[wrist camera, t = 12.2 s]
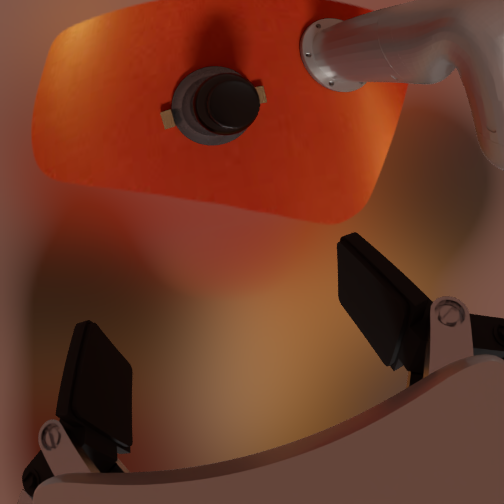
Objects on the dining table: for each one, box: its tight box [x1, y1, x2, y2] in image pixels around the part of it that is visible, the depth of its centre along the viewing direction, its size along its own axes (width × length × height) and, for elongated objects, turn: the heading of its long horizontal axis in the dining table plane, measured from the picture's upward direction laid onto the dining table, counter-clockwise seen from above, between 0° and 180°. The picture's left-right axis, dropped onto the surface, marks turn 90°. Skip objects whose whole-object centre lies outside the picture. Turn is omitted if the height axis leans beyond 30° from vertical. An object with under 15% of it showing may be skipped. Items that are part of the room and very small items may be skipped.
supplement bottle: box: [190, 73, 260, 135], centre depth 26 cm, size 7×7×12 cm
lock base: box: [160, 66, 267, 145], centre depth 31 cm, size 14×11×1 cm
